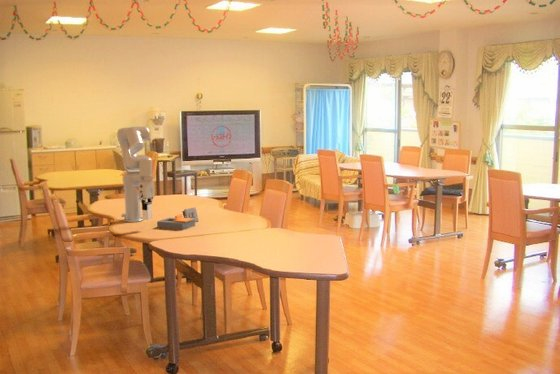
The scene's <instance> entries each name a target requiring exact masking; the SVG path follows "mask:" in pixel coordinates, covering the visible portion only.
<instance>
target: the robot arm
mask: <svg viewBox="0 0 560 374" xmlns="http://www.w3.org/2000/svg"><path fill="white" fill-rule="evenodd" d="M116 134H117V140H118V144H119V145H120V148H121V152H122V153H121V154H122V164H123V168H124V169H125V170H128V172H125V173H123V175H122V184H123V189H124V190H123V191H124V207H125V212H124V213H121V217H122V218H123V222H126V223H137V222H138V223H139V222H143V221H144V220H143V217H142V213H141V212H142V210H147V203H146V202H152V203H153V199H154V197H155V196H156V191H155V190H156V189H155V182H154V180H153V178H154V177H153V159H152V158H151V157H150V156H148V155H144V154H137V153H139V152H141V151H143V149H144V148H145V143H144V141H148V140H149V139H150V138H151V131H150V129H149V127H147V126H130V127H121V128H119V129H118V130H117V133H116ZM137 170H138V171H137ZM136 187H138V189H137V188H136Z"/></svg>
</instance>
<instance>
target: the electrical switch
mask: <svg viewBox="0 0 560 374" xmlns="http://www.w3.org/2000/svg"><path fill="white" fill-rule="evenodd" d="M182 217H183V218H193V219H195V223H197V222H199V217H198V212H197V208H196V207H190V208H184V210H182Z"/></svg>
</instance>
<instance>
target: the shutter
mask: <svg viewBox="0 0 560 374" xmlns="http://www.w3.org/2000/svg"><path fill="white" fill-rule="evenodd" d="M174 218H175V220H174V222H188V221H191V220H193V218H184V217H183V213H182V214H177V215H174Z"/></svg>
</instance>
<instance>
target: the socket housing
mask: <svg viewBox="0 0 560 374" xmlns="http://www.w3.org/2000/svg"><path fill="white" fill-rule="evenodd" d="M174 220H175V217H167V218H164V219H161V220H157V221H156V227H157V229H164V228H166V229H167V230H176V229H179V230H178V231H184V230H187V229H190V228H192V227H195V226H196V222H195V219H193V220H191V221H188V222H174Z"/></svg>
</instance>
